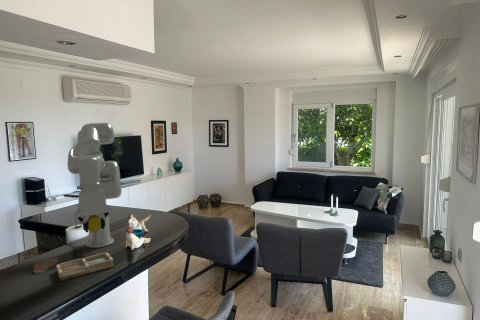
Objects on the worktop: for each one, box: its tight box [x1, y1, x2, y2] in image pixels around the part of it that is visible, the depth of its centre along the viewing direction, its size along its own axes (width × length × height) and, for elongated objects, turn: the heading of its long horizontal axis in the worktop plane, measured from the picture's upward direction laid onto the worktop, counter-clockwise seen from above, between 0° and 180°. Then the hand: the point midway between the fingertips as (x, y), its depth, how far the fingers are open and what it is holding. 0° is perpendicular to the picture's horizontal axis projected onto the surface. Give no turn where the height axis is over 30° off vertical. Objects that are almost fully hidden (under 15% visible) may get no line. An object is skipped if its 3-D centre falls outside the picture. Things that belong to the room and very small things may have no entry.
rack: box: [55, 251, 115, 281], centre depth 140 cm, size 10×20×3 cm, turn 125°
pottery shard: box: [32, 256, 63, 274], centre depth 145 cm, size 8×3×15 cm
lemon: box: [86, 215, 101, 233], centre depth 140 cm, size 6×6×8 cm
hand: (94, 229), depth 141 cm, fingers closed on lemon, 5 cm apart
